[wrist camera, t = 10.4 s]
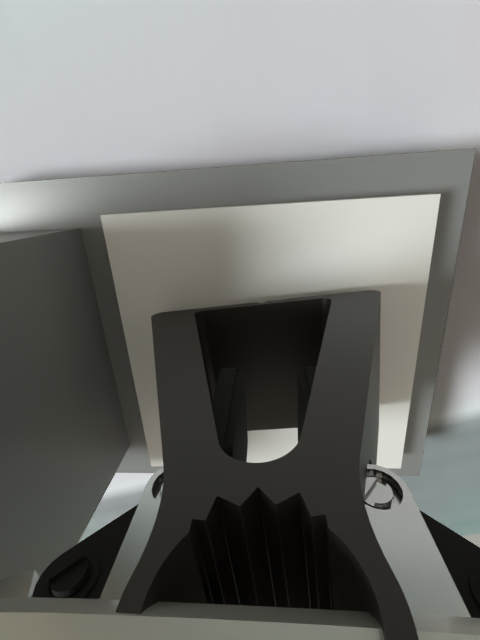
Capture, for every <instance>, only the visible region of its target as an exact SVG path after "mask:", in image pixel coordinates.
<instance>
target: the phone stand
mask: <svg viewBox="0 0 480 640" xmlns="http://www.w3.org/2000/svg"><path fill="white" fill-rule="evenodd" d="M380 313H381V292H380V291H376V290H365V291H356V292H347V293H337V294H328V295H319V296H309V297H300V298H291V299H282V300H272V301H266V302H264V303H257V302H254V303H244V304H235V305H226V306H216V307H207V308H198V309H189V310H179V311H170V312H161V313H157V314H154V315H152V316H151V323H152V335H153V347H154V359H155V371H156V383H157V395H158V407H159V419H160V431H161V443H162V455H163V469H164V478H163V489H162V496H161V501H160V506H159V510H158V513H157V517H156V520H155V523H154V526H153V529H152V532H151V534H150V537H149V539H148V542H147V545H146V547H145V549H144V551H143V553H142V556H141V558H140V560H139V562H138V564H137V566H136V568H135V570H134V572H133V574H132V576H131V578H130V580H129V582H128V584H127V586H126V588H125V590H124V592H123V594H122V596H121V599H120V601H119V604H118V606H117V609H116V612H117V613H129V614H141V613H142V612H143V611H144V610H146V609H147V608H148V607H150V606H152V605H153V604H155V603H157V602H181V603H204V604H225V605H245V606H266V607H286V608H306V609H326V610H345V611H363V612H370V613H371V614H372V615H373V616H374V617H375V618H376V620H377V621H378V622H379V624H380V625H381V627H382V630H383V635H384V640H419V639H418V635H417V630H416V627H415V623H414V620H413V617H412V614H411V611H410V608H409V605H408V603H407V600H406V598H405V595H404V593H403V591H402V589H401V587H400V584H399V582H398V580H397V579H396V577H395V575H394V573H393V571H392V569H391V567H390V565H389V563H388V562H387V560H386V558H385V556H384V554H383V552H382V549H381V547H380V545H379V543H378V541H377V539H376V536H375V534H374V531H373V529H372V526H371V523H370V520H369V517H368V514H367V511H366V508H365V504H364V500H365V497H364V496H365V485H366V478H367V464H369V462H370V460H371V463H372V464H373V465H376V464H377V448H378V433H379V391H380ZM307 366H317V367H316V372H315V376H314V380H313V385H312V389H311V394H310V398H309V402H308V407H307V411H306V416H305V420H304V424H303V429H302V433H301V437H300V440H299V442H298V444H297V445H296V446H295V447H294V448H293V449H292V450H291V451H290V452H289V453H287V454H286V455H284V456H282V457H280V458H278V459H275V460H272V461H268V462H262V463H249V462H243V461H239V460H236V459H234V458H232V457H230V456H229V455H227V454H226V453H225V452H224V451H223V450H222V449H221V447H220V445H219V442H218V436H217V431H216V426H215V421H214V415H213V410H212V401H213V397H214V393H215V389H216V386H217V382H218V378H219V374H220V370H221V368H237V369H238V372H243V373H244V386H245V402H246V417H247V431H255V430H270V429H285V428H298V371H304V367H307Z"/></svg>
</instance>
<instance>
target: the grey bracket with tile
mask: <svg viewBox="0 0 480 640" xmlns="http://www.w3.org/2000/svg"><path fill="white" fill-rule="evenodd" d="M475 151H476V148H472V149H459V150H445V151H432V152H418V153H405V154H391V155H378V156H364V157H351V158H337V159H324V160H310V161H297V162H283V163H269V164H256V165H242V166H229V167H215V168H202V169H188V170H175V171H161V172H148V173H134V174H121V175H107V176H94V177H80V178H67V179H53V180H40V181H26V182H13V183H0V580H3V579H6V578H9V577H12V576H15V575H18V574H21V573H24V572H27V571H30V570H33V569H35V570H36V572H37V574H38V573H41V572H44V570H45V569H46V568H47V567H48V566H49V565H50V564H51V562H53V561H54V560H55V559H56V558H58V557H59V556H60V555H61V554H63V553H64V552H66V551H67V550H69V549H70V548H72V547H73V546H75V545H77V544H78V543H79V541H80V540H81V538H82V536H83V534H84V532H85V530H86V528H87V525H88V523H89V521H90V519H91V517H92V516H93V514H94V512H95V510H96V508H97V506H98V504H99V502H100V501H101V499H102V497H103V495H104V493H105V491H106V489H107V488H108V486H109V484H110V482H111V480H112V478H113V476H114V475H115V473H156V472H157V471H158V470H159V469H161V468H163V455H162V443H161V431H160V419H159V407H158V395H157V383H156V371H155V359H154V347H153V335H152V323H151V316H152V315H154V314H157V313H161V312H170V311H179V310H189V309H198V308H207V307H216V306H226V305H235V304H244V303H254V302H257V303H264V302H266V301H272V300H282V299H291V298H300V297H309V296H319V295H328V294H337V293H347V292H356V291H365V290H376V291H380V292H381V313H380V391H379V433H378V448H377V464H376V465H378V466H381V467H384V468H387V469H389V470H390V471H392V472H394V473H396V474H397V475H404V476H419V474H420V468H421V462H422V457H423V451H424V445H425V439H426V434H427V428H428V422H429V416H430V410H431V405H432V399H433V393H434V387H435V382H436V376H437V370H438V364H439V358H440V353H441V347H442V341H443V335H444V330H445V324H446V318H447V312H448V306H449V301H450V295H451V289H452V283H453V278H454V272H455V266H456V260H457V255H458V249H459V243H460V237H461V231H462V226H463V220H464V214H465V208H466V203H467V197H468V191H469V185H470V179H471V174H472V168H473V162H474V156H475ZM247 432H248V449H247V462H249V463H262V462H268V461H272V460H275V459H278V458H280V457H282V456H284V455H286V454H287V453H289V452H290V451H291V450H292V449H293V448H294V447H295V446H296V445H297V444H298V428H285V429H270V430H255V431H247Z"/></svg>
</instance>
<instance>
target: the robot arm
mask: <svg viewBox="0 0 480 640" xmlns="http://www.w3.org/2000/svg"><path fill="white" fill-rule="evenodd" d="M316 367H317V366H307V367H304V371H298V442H299V440H300V437H301V433H302V429H303V424H304V420H305V416H306V411H307V407H308V402H309V398H310V394H311V389H312V385H313V380H314V376H315V372H316ZM212 410H213V415H214V421H215V426H216V431H217V436H218V442H219V445H220V447H221V449H222V450H223V451H224V452H225V453H226V454H227V455H229V456H230V457H232V458H234V459H236V460H239V461H243V462H247V449H248V432H247V417H246V402H245V386H244V373H243V372H238V369H237V368H221V370H220V374H219V378H218V382H217V386H216V389H215V393H214V397H213V401H212ZM163 478H164V469H163V468H161V469H159V470H158V471H157V472H156V473H155V474H154V475H153V476H152V477H151V478H150V480H149V481H148V483H147V485H146V487H145V490H144V492H143V495H142V497H141V499H140V502H139V504H138V505H137V506H135V507H133V508H132V509H130V510H129V511H127V512H126V513H124V514H123V515H121V516H120V517H118V518H117V519H115V520H113V521H112V522H110V523H109V524H107V525H106V526H104V527H103V528H101V529H100V530H98V531H97V532H95V533H93V534H92V535H90V536H89V537H87V538H86V539H84V540H83V541H81V542H80V543H78V544H77V545H75V546H73V547H72V548H70V549H69V550H67V551H66V552H64V553H63V554H61V555H60V556H59V557H58V558H56V559H55V560H54V561H53V562H51V564H50V565H49V566H48V567H47V568H46V569H45V570H44V572H41V573H38V574H37V572H36V570H35V569H33V570H30V571H27V572H24V573H21V574H18V575H15V576H12V577H9V578H6V579H3V580H0V640H384V635H383V630H382V627H381V625H380V624H379V622H378V621H377V620H376V618H375V617H374V616H373V615H372V614H371V613H370V612H363V611H345V610H326V609H306V608H286V607H266V606H245V605H225V604H204V603H181V602H157V603H155V604H153V605H152V606H150V607H148V608H147V609H146V610H144V611H143V612H142V613H141V614H129V613H117V612H116V609H117V606H118V604H119V601H120V599H121V596H122V594H123V592H124V590H125V588H126V586H127V584H128V582H129V580H130V578H131V576H132V574H133V572H134V570H135V568H136V566H137V564H138V562H139V560H140V558H141V556H142V553H143V551H144V549H145V547H146V545H147V542H148V539H149V537H150V534H151V532H152V529H153V526H154V523H155V520H156V517H157V513H158V510H159V506H160V501H161V496H162V489H163ZM364 497H365V500H364V504H365V508H366V511H367V514H368V517H369V520H370V523H371V526H372V529H373V531H374V534H375V536H376V539H377V541H378V543H379V545H380V547H381V549H382V552H383V554H384V556H385V558H386V560H387V562H388V563H389V565H390V567H391V569H392V571H393V573H394V575H395V577H396V579H397V580H398V582H399V584H400V587H401V589H402V591H403V593H404V595H405V598H406V600H407V603H408V605H409V608H410V611H411V614H412V617H413V620H414V623H415V627H416V630H417V635H418V639H419V640H480V548H479V547H477V546H476V545H474V544H473V543H471V542H469V541H468V540H466V539H465V538H463V537H462V536H460V535H458V534H457V533H455V532H454V531H452V530H450V529H449V528H447V527H446V526H444V525H442V524H441V523H439V522H438V521H436V520H434V519H433V518H431V517H430V516H428V515H426V514H425V513H423V512H422V511H420V510H419V509H418V507H417V505H416V503H415V500H414V498H413V496H412V494H411V492H410V490H409V488H408V487H407V485H406V484H405V482H404V481H403V480H402V479H401V478H400V477H399V476H398V475H397V474H396V473H394V472H392V471H390V470H389V469H387V468H384V467H381V466H378V465H373V464H372V463H371V460H370V462H369V464H367V478H366V485H365V496H364Z"/></svg>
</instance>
